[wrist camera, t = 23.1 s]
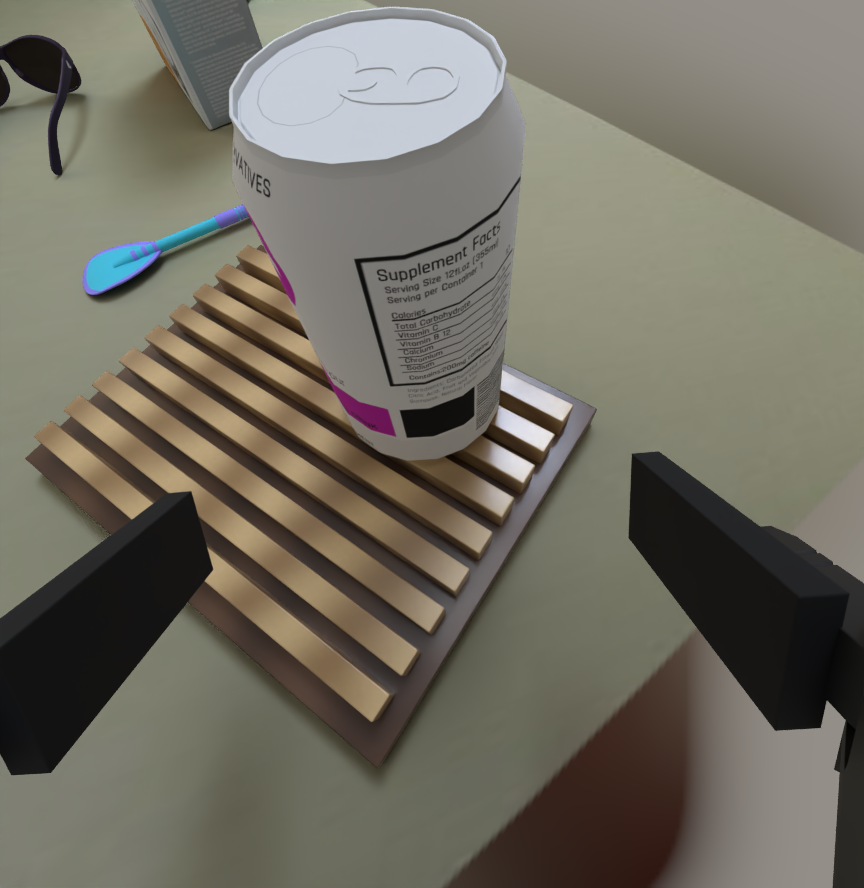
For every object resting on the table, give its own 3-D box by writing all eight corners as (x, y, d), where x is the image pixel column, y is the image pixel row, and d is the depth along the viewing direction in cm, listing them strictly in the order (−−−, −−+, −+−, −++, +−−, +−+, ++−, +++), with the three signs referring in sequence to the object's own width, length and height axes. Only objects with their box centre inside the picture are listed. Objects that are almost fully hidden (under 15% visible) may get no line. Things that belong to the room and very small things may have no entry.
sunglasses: (96, 81, 49) (58, 22, 45) (93, 168, 42) (48, 107, 38) (-36, 114, 48) (-87, 57, 44) (-61, 209, 41) (-126, 152, 37)
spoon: (91, 306, 34) (79, 294, 33) (78, 273, 36) (66, 261, 35) (384, 166, 39) (381, 151, 38) (360, 143, 40) (357, 128, 39)
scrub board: (591, 421, 27) (604, 393, 24) (383, 762, 20) (370, 776, 18) (268, 261, 35) (251, 226, 32) (45, 468, 28) (1, 446, 26)
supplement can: (331, 458, 24) (150, 178, 10) (365, 330, 27) (263, -1, 14) (491, 475, 23) (518, 187, 9) (505, 340, 26) (539, -9, 13)
